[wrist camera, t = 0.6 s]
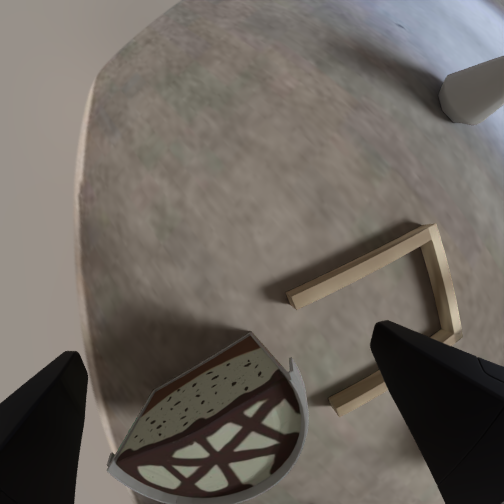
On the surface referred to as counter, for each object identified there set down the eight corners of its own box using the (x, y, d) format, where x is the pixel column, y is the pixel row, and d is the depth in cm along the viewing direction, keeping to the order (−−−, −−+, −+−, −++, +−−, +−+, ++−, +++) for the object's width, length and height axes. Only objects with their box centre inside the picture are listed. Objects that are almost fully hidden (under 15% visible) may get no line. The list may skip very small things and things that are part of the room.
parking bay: (449, 332, 24) (462, 337, 22) (331, 406, 23) (339, 417, 21) (422, 225, 23) (436, 223, 21) (285, 292, 22) (291, 296, 20)
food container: (185, 448, 22) (173, 531, 12) (139, 397, 21) (100, 473, 11) (308, 379, 22) (357, 449, 13) (268, 320, 22) (302, 372, 12)
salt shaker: (423, 93, 23) (507, 34, 10) (445, 75, 24) (518, 23, 11) (457, 140, 24) (550, 100, 11) (476, 118, 24) (556, 80, 11)
